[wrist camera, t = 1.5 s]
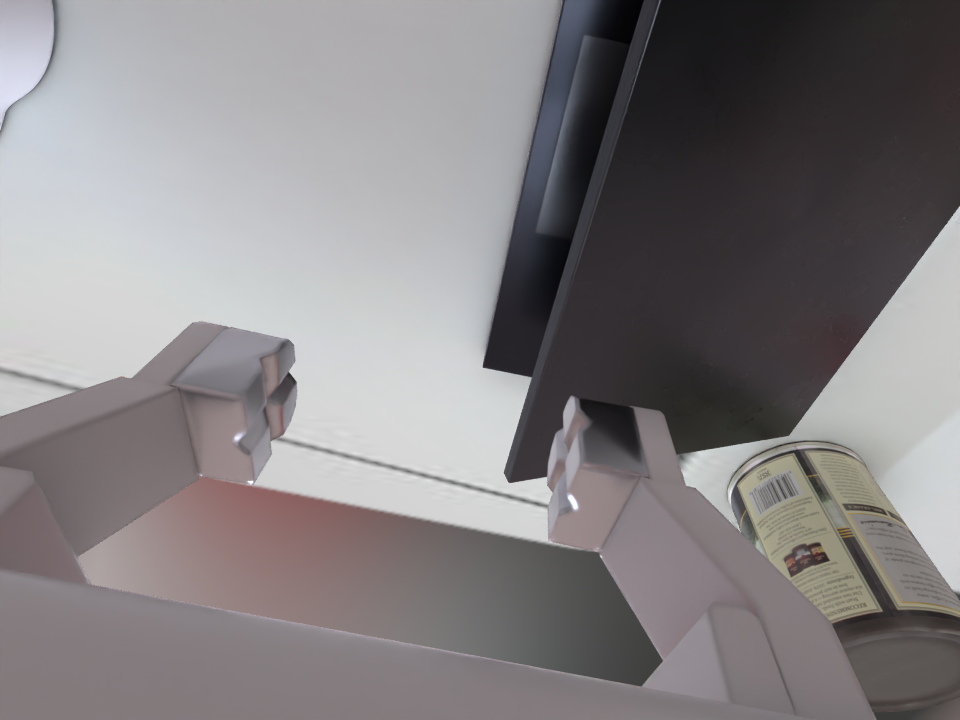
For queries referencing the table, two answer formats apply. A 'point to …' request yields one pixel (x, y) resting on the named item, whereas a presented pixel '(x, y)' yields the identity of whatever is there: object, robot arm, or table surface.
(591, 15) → the laptop
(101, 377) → the table surface
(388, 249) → the table surface
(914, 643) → the coffee can
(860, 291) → the laptop screen
